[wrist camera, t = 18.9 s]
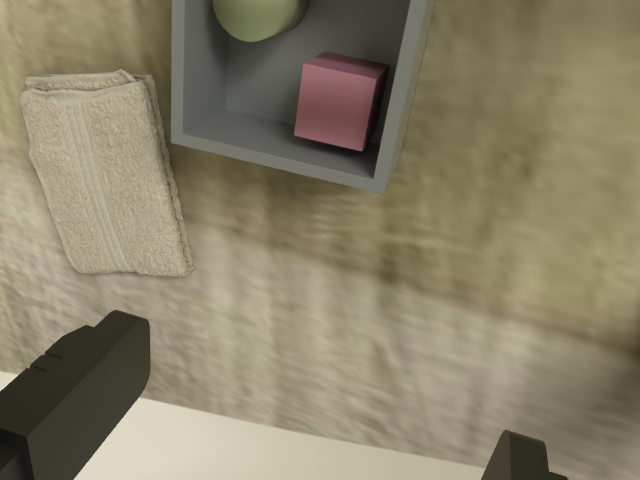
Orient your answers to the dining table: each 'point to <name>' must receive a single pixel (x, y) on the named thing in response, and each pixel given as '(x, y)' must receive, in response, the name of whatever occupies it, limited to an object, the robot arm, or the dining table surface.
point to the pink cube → (340, 100)
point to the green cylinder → (259, 17)
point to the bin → (293, 85)
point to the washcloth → (107, 172)
